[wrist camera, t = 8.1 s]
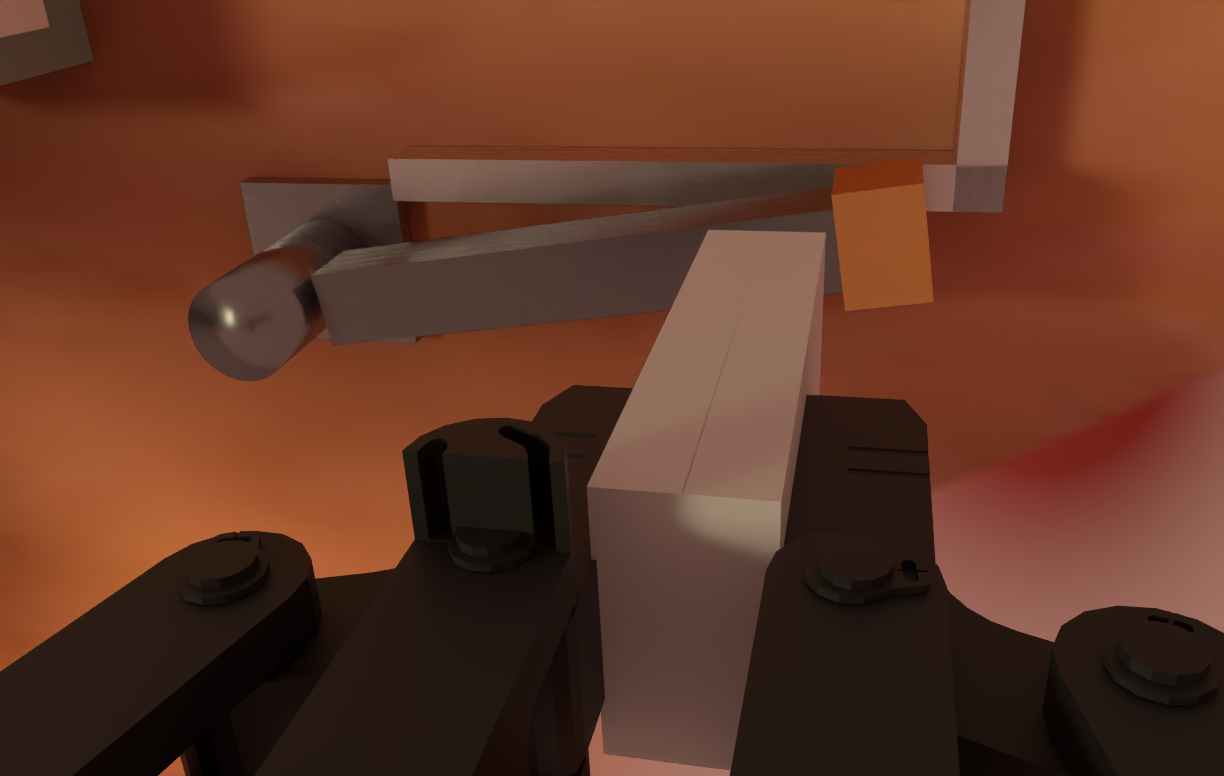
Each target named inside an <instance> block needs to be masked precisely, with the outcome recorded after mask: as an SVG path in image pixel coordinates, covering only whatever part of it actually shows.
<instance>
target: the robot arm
mask: <svg viewBox="0 0 1224 776" xmlns="http://www.w3.org/2000/svg"><path fill="white" fill-rule="evenodd" d="M825 242H826V233H823V232H781V231H739V230H708V232H707V234H706V236H705V238H704V240H703V242H702V244H701V246H700V249H699V251H698V253H697V255H696V257H695V259H694V261H693V263H692V265H691V268H690V270H689V272H688V274H687V276H686V278H685V280H684V282H683V284H682V287H681V289H680V291H679V293H678V295H677V297H676V299H675V301H674V303H673V306H672V308H671V310H670V312H669V314H668V316H667V318H666V320H665V322H664V325H663V327H662V329H661V331H660V333H659V335H658V337H657V339H656V341H655V344H654V346H653V348H652V350H651V352H650V354H649V356H648V358H647V360H646V363H645V365H644V367H643V369H642V371H641V373H640V375H639V377H638V379H637V382H636V384H635V386H634V388H616V387H598V386H580V385H573V386H571V387H570V388H568V389H567V390H565V391H563V392H562V393H560V394H559V395H557V396H556V397H554V398H552V399H551V400H549V401H548V402H546V403H545V404H543V405H542V406H541V408H540V410H539V411H538V413H537V414H536V416H535V418H534V419H533V421H532V422H530V421H524V420H518V419H512V418H484V419H473V420H468V421H463V422H459V423H454V424H449V425H445V426H443V427H441V428H438V429H436V430H434V431H431V432H429V433H427V434H424V435H422V436H420V437H419V438H417V439H416V440H415V441H414V442H412V443H411V444H410V445H409V446H408V447H406V448H405V449H404V450H403V451H402V452H403V459H404V466H405V473H406V480H407V487H408V494H409V501H410V508H411V515H412V522H413V528H414V535H415V540H414V542H413V543H412V545H411V546H410V548H409V549H408V550H407V552H406V553H405V555H404V556H403V558H402V559H401V561H400V562H399V564H398V565H397V567H396V568H395V569H389V570H383V571H378V572H372V573H363V574H354V575H345V576H336V577H327V578H318V579H315V576H314V571H313V565H312V560H311V557H310V556H309V554H308V552H307V551H306V549H305V547H304V546H303V544H302V543H300V542H298V541H296V540H294V539H292V538H290V537H288V536H286V535H284V534H278V533H269V532H261V531H240V533H236V532H231V533H225V534H220V535H217V536H215V537H213V538H210V539H207V540H203V541H200V542H197V543H194V544H191V545H189V546H187V547H186V548H184V549H182V550H180V551H178V552H176V553H174V554H172V555H171V556H169V557H167V558H165V559H163V560H162V561H160V562H159V563H158V564H156V565H155V566H153V567H152V568H150V569H149V570H147V571H146V572H145V573H143V574H142V575H140V576H139V577H137V578H136V579H134V580H133V581H131V582H130V583H129V584H127V585H126V586H124V587H123V588H121V589H120V590H118V591H117V592H115V593H114V594H113V595H111V596H110V597H108V598H107V599H105V600H104V601H102V602H101V603H99V604H98V605H97V606H95V607H94V608H92V609H91V610H89V611H88V612H86V613H85V614H83V615H82V616H81V617H79V618H78V619H76V620H75V621H73V622H72V623H70V624H69V625H68V626H66V627H65V628H63V629H62V630H60V631H59V632H57V633H56V634H54V635H53V636H52V637H50V638H49V639H47V640H46V641H44V642H43V643H41V644H40V645H38V646H37V647H36V648H34V649H33V650H31V651H30V652H28V653H27V654H25V655H24V656H22V657H21V658H20V659H18V660H17V661H15V662H14V663H12V664H11V665H9V666H8V667H6V668H5V669H4V670H2V671H1V672H0V776H158V775H159V774H160V773H161V772H162V771H164V770H165V769H166V768H167V767H168V766H169V765H170V764H172V763H173V762H174V761H175V760H176V759H177V758H178V757H179V756H180V757H181V761H182V764H183V768H184V771H185V775H186V776H590V766H589V751H588V747H589V745H590V742H591V739H592V735H593V733H594V729H595V727H596V723H597V721H598V718H599V715H600V712H601V718H602V733H603V749H604V754H609V755H617V756H625V757H633V758H640V759H648V760H655V761H663V762H671V763H678V764H686V765H694V766H702V767H709V768H717V769H724V770H731V771H730V776H1224V633H1222V632H1221V631H1219V630H1217V629H1215V628H1213V627H1211V626H1209V625H1207V624H1205V623H1203V622H1201V621H1199V620H1197V619H1193V618H1189V617H1186V616H1183V615H1180V614H1177V613H1176V614H1175V613H1171V612H1169V611H1164V610H1160V609H1157V608H1143V607H1129V606H1113V607H1107V608H1102V609H1097V610H1091V611H1085V612H1083V613H1081V614H1080V615H1078V616H1077V617H1075V618H1073V619H1072V620H1070V621H1068V622H1067V623H1065V624H1064V625H1062V626H1061V628H1060V630H1059V633H1058V635H1057V637H1056V640H1055V642H1051V641H1048V640H1045V639H1041V638H1038V637H1035V636H1031V635H1028V634H1025V633H1021V632H1018V631H1015V630H1013V629H1010V628H1008V627H1005V626H1002V625H1000V624H997V623H994V622H991V621H990V620H988V619H986V618H984V617H982V616H981V615H979V614H977V613H976V612H974V611H972V610H970V609H968V608H967V607H966V606H965V605H963V604H962V603H961V602H960V601H959V600H957V599H956V598H955V597H954V596H953V595H952V594H951V593H950V592H949V591H948V589H947V586H946V584H945V581H944V579H943V576H942V574H941V572H940V569H939V567H938V565H936V564H935V550H934V534H933V518H932V502H931V486H930V479H929V477H930V470H929V457H928V438H927V424H926V423H925V422H924V421H923V420H922V419H921V418H920V417H919V416H918V414H917V413H916V412H915V411H914V410H913V409H912V408H911V407H910V406H909V405H908V404H907V402H906V401H905V400H894V399H876V398H858V397H840V396H822V395H820V370H821V345H822V319H823V294H824V268H825Z"/></svg>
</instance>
